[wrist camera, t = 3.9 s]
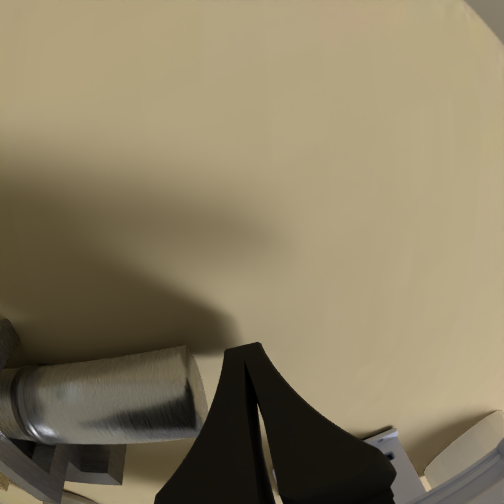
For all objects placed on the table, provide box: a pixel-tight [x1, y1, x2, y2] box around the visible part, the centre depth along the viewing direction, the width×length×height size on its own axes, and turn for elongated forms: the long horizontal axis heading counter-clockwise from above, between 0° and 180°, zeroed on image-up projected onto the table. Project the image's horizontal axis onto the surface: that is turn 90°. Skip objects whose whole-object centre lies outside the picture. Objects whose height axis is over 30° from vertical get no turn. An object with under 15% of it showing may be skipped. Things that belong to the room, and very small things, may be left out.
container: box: [424, 410, 504, 489], centre depth 17 cm, size 14×13×20 cm
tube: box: [0, 345, 208, 445], centre depth 10 cm, size 12×4×4 cm, turn 100°
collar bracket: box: [0, 319, 126, 504], centre depth 10 cm, size 10×10×6 cm
